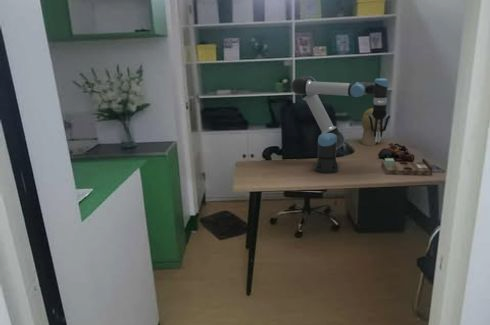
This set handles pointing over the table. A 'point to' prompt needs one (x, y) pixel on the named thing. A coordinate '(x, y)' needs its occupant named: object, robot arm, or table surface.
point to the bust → (369, 128)
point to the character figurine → (397, 153)
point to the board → (409, 168)
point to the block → (389, 162)
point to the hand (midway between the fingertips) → (377, 141)
